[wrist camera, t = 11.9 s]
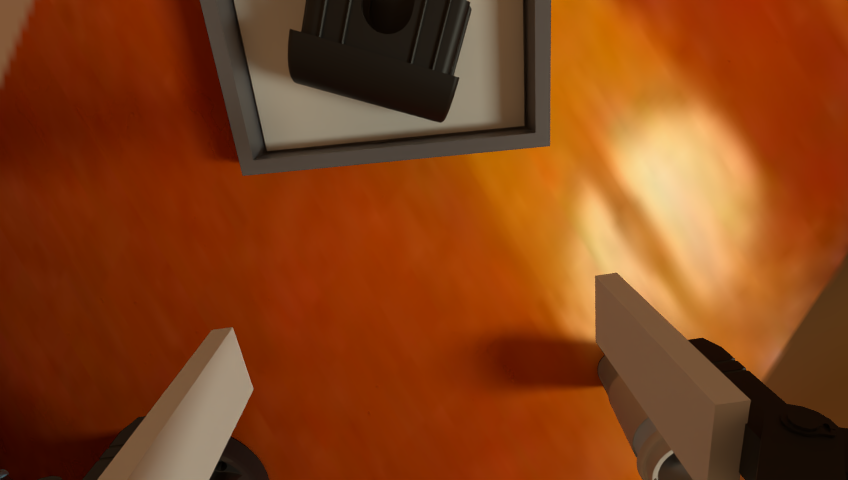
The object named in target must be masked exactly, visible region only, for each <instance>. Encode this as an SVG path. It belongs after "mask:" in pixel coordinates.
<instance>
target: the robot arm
mask: <svg viewBox="0 0 848 480" xmlns="http://www.w3.org/2000/svg"><path fill="white" fill-rule="evenodd" d="M595 309H596V343H597V344H598V346H599V347H600V348H601V350H602V351H603V353H604V354H605V356H606V357H607V358H608V360H609V361H610V363H611V364H612V365H613V367H614V368H615V370H616V371H617V373H618V374H619V375H620V377H621V378H622V380H623V381H624V383H625V384H626V385H627V387H628V388H629V390H630V391H631V392H632V394H633V395H634V397H635V398H636V400H637V401H638V402H639V404H640V405H641V407H642V408H643V410H644V411H645V412H646V414H647V415H648V417H649V418H650V419H651V421H652V422H653V424H654V425H655V427H656V428H657V429H658V431H659V432H660V434H661V435H662V437H663V438H664V439H665V441H666V442H667V444H668V445H669V447H670V448H671V449H672V451H673V452H674V454H675V455H676V456H677V458H678V459H679V461H680V462H681V464H682V465H683V466H684V468H685V469H686V471H687V472H688V474H689V475H690V476H691V478H692V479H693V480H739V479H740V474H741V475H742V477H743V478H744V479H745V480H848V428H840V427H838V426H837V425H836V424H835V423H834V422H832V421H831V420H830V419H829V418H827V417H825V416H824V415H822V414H820V413H818V412H816V411H814V410H811V409H808V408H805V407H802V406H796V405H790V404H786V403H785V402H784V401H783V400H782V399H780V398H779V397H778V396H777V395H776V394H775V393H774V392H772V391H771V390H770V389H769V388H768V387H766V385H764V384H763V383H762V382H761V381H760V380H759V379H758V378H756V377H755V376H754V375H753V374H752V373H751V372H750V371H746V368H745V367H744V366H743V365H741V364H740V363H739V362H738V361H735V358H733V357H732V356H731V355H730V354H729V353H728V352H727V351H725V350H724V349H723V348H722V347H720V346H718V345H716V344H714V343H712V342H710V341H708V340H706V339H704V338H698V339H691V340H687V339H686V338H685V337H684V336H683V335H682V334H681V333H680V332H678V331H677V330H676V329H675V328H674V327H673V326H672V325H671V324H670V323H669V322H668V321H667V320H666V319H665V318H664V317H663V316H662V315H661V314H660V313H658V312H657V311H656V310H655V309H654V308H653V307H652V306H651V305H650V304H649V303H648V302H647V301H646V300H645V299H644V298H643V297H642V296H641V295H640V294H638V293H637V292H636V291H635V290H634V289H633V288H632V287H631V286H630V285H629V284H628V283H627V282H626V281H625V280H624V279H623V278H622V277H621V276H620V275H618V274H617V273H612V274H605V275H598V276H595ZM252 391H253V386H252V383H251V380H250V377H249V374H248V371H247V368H246V365H245V362H244V359H243V356H242V353H241V350H240V347H239V344H238V341H237V338H236V335H235V333H234V330H233V327H231V328H224V329H217V330H212V331H211V332H210V333H209V335H208V336H207V337H206V338H205V340H204V341H203V342H202V344H201V345H200V346H199V348H198V349H197V350H196V352H195V353H194V354H193V355H192V357H191V358H190V359H189V361H188V362H187V363H186V365H185V366H184V367H183V369H182V370H181V371H180V372H179V374H178V375H177V376H176V378H175V379H174V380H173V382H172V383H171V384H170V386H169V387H168V388H167V389H166V391H165V392H164V393H163V395H162V396H161V397H160V399H159V400H158V401H157V403H156V404H155V405H154V406H153V408H152V409H151V410H150V412H149V413H148V414H147V416H144V417H138V418H137V419H136V420H134V421H133V422H132V423H131V424H130V425H128V426H127V427H126V428H125V429H123V430H122V431H121V432H120V433H119V435H118V436H117V437H116V438H115V440H114V441H113V442H112V443H111V445H110V446H109V449H107V450H106V451H105V452H104V453H103V455H102V456H101V457H100V460H99V461H97V462H96V463H95V465H94V466H93V467H92V468H91V470H90V471H89V472H88V473H87V474H86V476H85V477H84V478H83V479H82V480H269V478H268V475H267V472H266V470H265V468H264V466H263V465H262V463H261V462H260V460H259V459H258V458H257V457H256V455H255V454H254V453H253V452H252V451H250V450H249V449H248V448H247V447H246V446H244V445H243V444H241V443H240V442H238V441H237V440H235V439H233V438H231V437H230V436H231V434H232V432H233V430H234V428H235V426H236V424H237V422H238V420H239V418H240V416H241V414H242V412H243V410H244V408H245V406H246V404H247V401H248V399H249V397H250V395H251V393H252ZM8 474H9V473H8V471H7V470H5V469H0V480H12V479H11V478H10V477H8V476H7V475H8ZM38 480H62V478H61V477H57V476H49V477H45V478H40V479H38Z"/></svg>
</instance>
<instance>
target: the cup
mask: <svg viewBox="0 0 848 480" xmlns="http://www.w3.org/2000/svg"><path fill="white" fill-rule="evenodd" d="M598 376H599V378H600V380H601V382H602V384H603V386H604V388H605V390H606V392H607V394H608V396H609V402H610V404H611V406H612V408H613V410H614V412H615V414H616V417H617V419H618V421H619V423H620V425H621V427H622V429H623V431H624V433H625V435H626V437H627V439H628V441H629V443H630V446H631V448H632V450H633V452H634V454H635V456H636V457H637V469H638V472H639V474H640V476H641V478H642V479H643V480H693V479H692V478H691V476H690V475H689V474H688V472H687V471H686V469H685V468H684V466H683V465H682V464H681V462H680V461H679V459H678V458H677V456H676V455H675V454H674V452H673V451H672V449H671V448H670V447H669V445H668V444H667V442H666V441H665V439H664V438H663V437H662V435H661V434H660V432H659V431H658V429H657V428H656V427H655V425H654V424H653V422H652V421H651V419H650V418H649V417H648V415H647V414H646V412H645V411H644V410H643V408H642V407H641V405H640V404H639V402H638V401H637V400H636V398H635V397H634V395H633V394H632V392H631V391H630V390H629V388H628V387H627V385H626V384H625V383H624V381H623V380H622V378H621V377H620V375H619V374H618V373H617V371H616V370H615V368H614V367H613V365H612V364H611V363H610V361H609V360H608V358H607V357H606V356H604V357H603V358H602V359H601V361H600V362H599V365H598Z"/></svg>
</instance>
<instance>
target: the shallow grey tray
mask: <svg viewBox="0 0 848 480" xmlns="http://www.w3.org/2000/svg"><path fill="white" fill-rule="evenodd" d="M467 1H469V2H470V7H471V10H472V11H471V14H470V18H469V22H468V25H467V29H466V33H465V36H464V40H463V43H462V47H461V51H460V54H459V58H458V62H457V65H456V69H455V73H454V76H456V77H459V81H458V85H457V88H456V91H455V95H454V98H453V101H452V104H451V107H450V109H449V112H448V114H447V117H446V119H445V120H444V121H443V122H442V123H439V122H435V121H431V120H428V119H424V118H420V117H417V116H413V115H409V114H406V113H402V112H399V111H395V110H391V109H388V108H384V107H380V106H377V105H373V104H370V103H366V102H362V101H359V100H355V99H351V98H348V97H344V96H340V95H337V94H333V93H330V92H326V91H322V90H319V89H315V88H311V87H308V86H304V85H300V84H297V83H295V82H294V81H293V80H292V78H291V76H290V73H289V68H288V39H289V30H290V29H293V30H296V31H300V32H301V29H302V23H303V16H304V10H305V3H306V0H200V3H201V7H202V12H203V16H204V20H205V24H206V28H207V32H208V36H209V40H210V44H211V48H212V52H213V56H214V61H215V65H216V69H217V73H218V77H219V81H220V85H221V89H222V93H223V97H224V101H225V105H226V110H227V114H228V118H229V122H230V126H231V130H232V134H233V138H234V142H235V146H236V150H237V154H238V158H239V163H240V167H241V171H242V175H243V176H245V175H255V174H266V173H276V172H286V171H297V170H307V169H317V168H328V167H338V166H348V165H358V164H369V163H379V162H389V161H400V160H410V159H420V158H431V157H441V156H451V155H462V154H472V153H482V152H492V151H503V150H513V149H523V148H534V147H544V146H550V55H551V0H467Z"/></svg>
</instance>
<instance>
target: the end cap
mask: <svg viewBox="0 0 848 480" xmlns="http://www.w3.org/2000/svg"><path fill="white" fill-rule="evenodd" d="M471 11H472V10H471V7H470V2H469V1H467V0H306V3H305V10H304V16H303V23H302V29H301V32H300V31H296V30H293V29H290V30H289V39H288V68H289V73H290V76H291V78H292V80H293V81H294V82H295V83H297V84H300V85H304V86H308V87H311V88H315V89H319V90H322V91H326V92H330V93H333V94H337V95H340V96H344V97H348V98H351V99H355V100H359V101H362V102H366V103H370V104H373V105H377V106H380V107H384V108H388V109H391V110H395V111H399V112H402V113H406V114H409V115H413V116H417V117H420V118H424V119H428V120H431V121H435V122H439V123H442V122H443V121H444V120H445V119H446V117H447V114H448V112H449V109H450V107H451V104H452V101H453V98H454V95H455V91H456V88H457V85H458V81H459V77H456V76H454V73H455V69H456V65H457V62H458V58H459V54H460V51H461V47H462V43H463V40H464V36H465V33H466V29H467V25H468V22H469V18H470V14H471Z"/></svg>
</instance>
